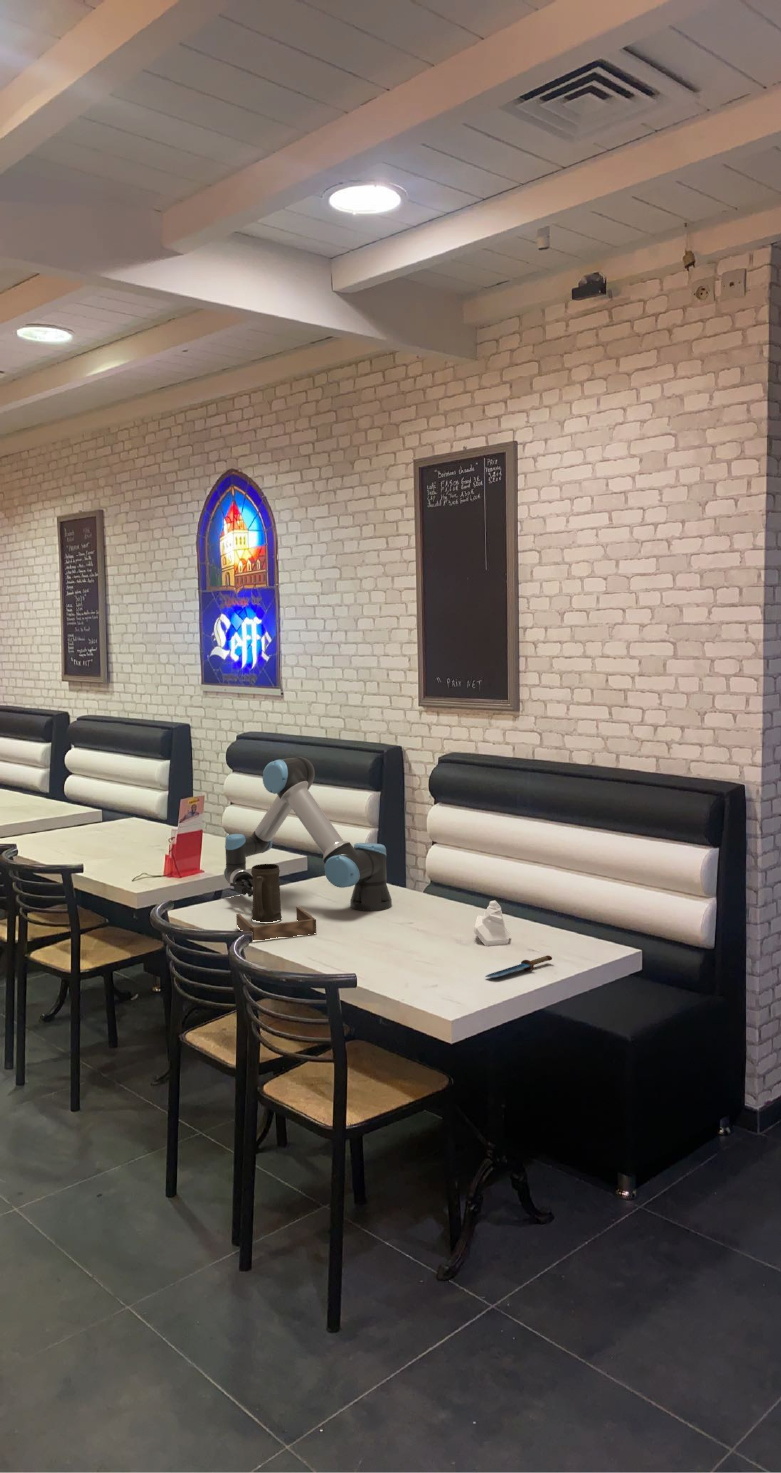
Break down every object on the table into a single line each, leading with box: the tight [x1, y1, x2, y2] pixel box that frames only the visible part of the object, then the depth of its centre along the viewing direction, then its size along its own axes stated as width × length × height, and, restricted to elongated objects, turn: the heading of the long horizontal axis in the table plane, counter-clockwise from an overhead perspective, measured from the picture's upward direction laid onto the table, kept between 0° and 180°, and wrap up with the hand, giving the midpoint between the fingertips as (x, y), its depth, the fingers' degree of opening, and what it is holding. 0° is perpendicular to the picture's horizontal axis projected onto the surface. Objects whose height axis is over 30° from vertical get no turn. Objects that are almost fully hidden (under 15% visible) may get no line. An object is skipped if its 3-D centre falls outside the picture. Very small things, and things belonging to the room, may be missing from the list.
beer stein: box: [250, 863, 283, 922], centre depth 358 cm, size 15×10×20 cm
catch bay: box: [235, 906, 317, 940], centre depth 347 cm, size 22×18×5 cm
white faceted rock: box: [473, 900, 511, 947], centre depth 333 cm, size 12×15×14 cm
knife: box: [484, 955, 553, 978], centre depth 301 cm, size 24×3×5 cm
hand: (258, 894), depth 365 cm, fingers closed
